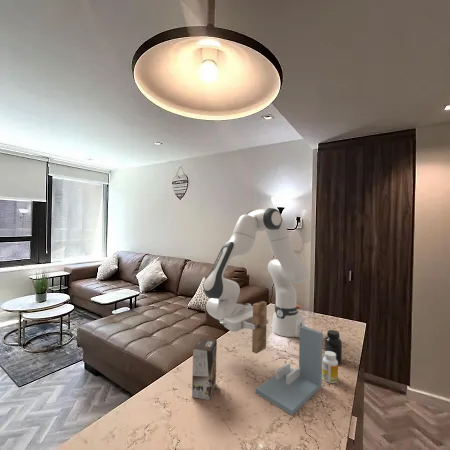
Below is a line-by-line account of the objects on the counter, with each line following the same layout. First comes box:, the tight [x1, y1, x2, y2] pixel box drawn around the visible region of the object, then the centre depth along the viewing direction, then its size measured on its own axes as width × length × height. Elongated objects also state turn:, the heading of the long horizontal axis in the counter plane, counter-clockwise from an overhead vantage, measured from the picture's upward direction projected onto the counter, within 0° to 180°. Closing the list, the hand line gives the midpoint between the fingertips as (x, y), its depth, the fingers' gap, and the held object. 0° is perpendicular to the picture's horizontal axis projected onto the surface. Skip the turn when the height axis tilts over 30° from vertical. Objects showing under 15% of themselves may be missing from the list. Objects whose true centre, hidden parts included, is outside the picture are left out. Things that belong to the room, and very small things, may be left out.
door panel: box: [251, 300, 268, 354], centre depth 96 cm, size 6×3×18 cm, turn 134°
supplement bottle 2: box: [322, 350, 339, 384], centre depth 95 cm, size 5×5×10 cm
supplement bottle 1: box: [324, 329, 343, 364], centre depth 109 cm, size 7×7×12 cm
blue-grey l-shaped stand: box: [255, 326, 324, 416], centre depth 88 cm, size 20×14×20 cm
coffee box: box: [191, 337, 218, 401], centre depth 87 cm, size 9×6×16 cm
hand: (261, 324), depth 96 cm, fingers closed on door panel, 6 cm apart
